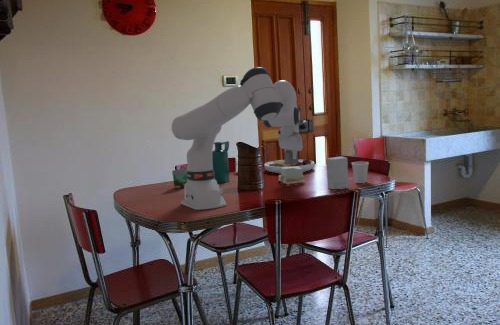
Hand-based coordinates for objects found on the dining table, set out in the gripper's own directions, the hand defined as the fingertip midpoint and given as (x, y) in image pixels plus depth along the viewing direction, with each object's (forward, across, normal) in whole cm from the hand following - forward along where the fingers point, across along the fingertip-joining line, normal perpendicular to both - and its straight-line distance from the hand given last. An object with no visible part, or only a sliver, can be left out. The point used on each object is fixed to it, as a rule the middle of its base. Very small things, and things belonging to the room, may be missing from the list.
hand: (291, 158), depth 225 cm
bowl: (+13, +35, -16) cm, 41 cm away
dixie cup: (+13, -20, -28) cm, 37 cm away
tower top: (+9, 0, 0) cm, 9 cm away
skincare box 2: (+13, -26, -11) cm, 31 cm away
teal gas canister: (+13, +26, +30) cm, 42 cm away
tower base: (+13, 0, 0) cm, 13 cm away
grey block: (+3, 0, 0) cm, 3 cm away
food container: (+13, +23, +52) cm, 58 cm away
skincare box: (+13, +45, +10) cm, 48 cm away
